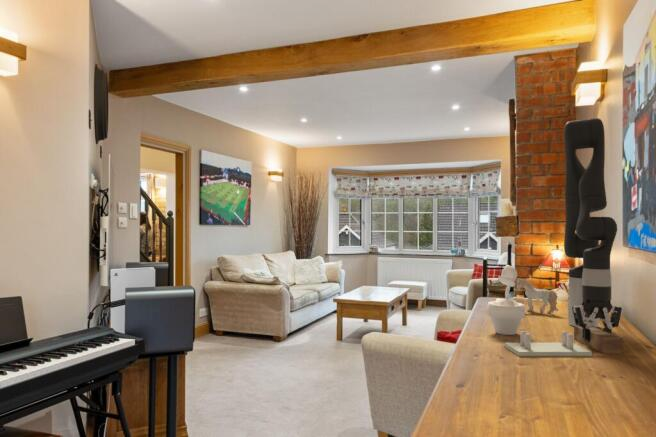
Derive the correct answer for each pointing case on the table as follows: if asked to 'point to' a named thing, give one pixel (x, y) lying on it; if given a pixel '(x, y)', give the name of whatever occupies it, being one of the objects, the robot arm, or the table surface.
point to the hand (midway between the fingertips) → (596, 340)
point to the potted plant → (506, 306)
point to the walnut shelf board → (600, 340)
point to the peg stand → (547, 347)
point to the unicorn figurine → (538, 295)
